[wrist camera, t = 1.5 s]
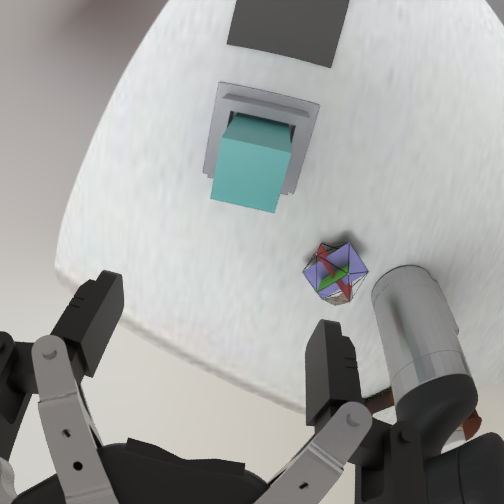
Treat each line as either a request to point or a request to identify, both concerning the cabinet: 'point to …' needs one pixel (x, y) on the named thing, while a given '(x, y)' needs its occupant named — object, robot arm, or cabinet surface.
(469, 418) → the muffin
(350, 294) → the geometric puzzle
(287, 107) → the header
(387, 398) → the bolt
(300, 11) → the mat
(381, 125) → the cabinet surface
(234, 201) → the teal block
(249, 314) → the cabinet surface
